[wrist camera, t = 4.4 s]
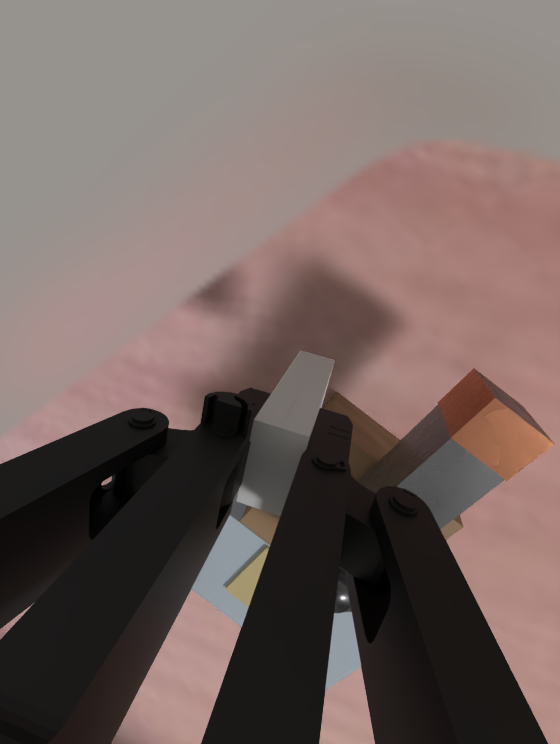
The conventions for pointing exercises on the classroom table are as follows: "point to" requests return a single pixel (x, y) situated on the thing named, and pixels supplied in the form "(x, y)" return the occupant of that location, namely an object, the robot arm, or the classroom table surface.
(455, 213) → the classroom table surface
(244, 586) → the grey block with peg
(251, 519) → the block
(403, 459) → the latch bar
